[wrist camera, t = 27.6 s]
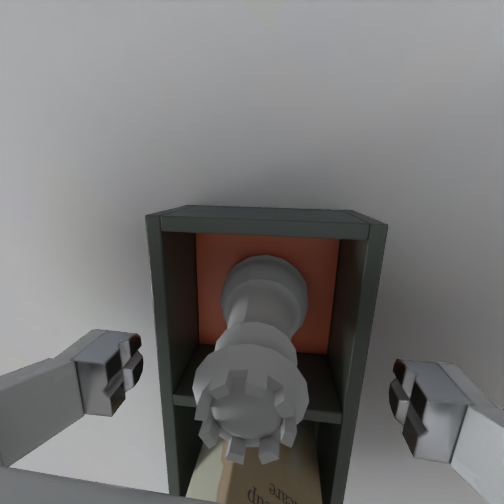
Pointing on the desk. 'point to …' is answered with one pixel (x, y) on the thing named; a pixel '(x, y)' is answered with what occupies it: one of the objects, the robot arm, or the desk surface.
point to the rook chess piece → (255, 362)
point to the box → (260, 474)
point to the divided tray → (304, 340)
